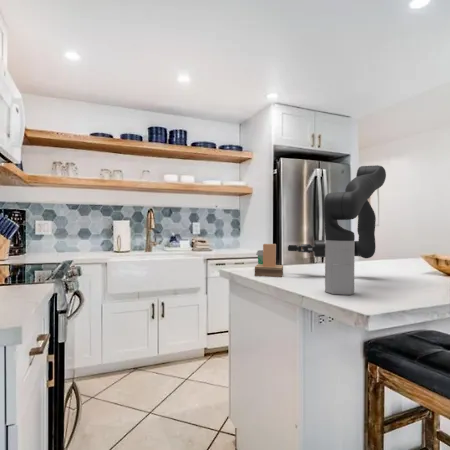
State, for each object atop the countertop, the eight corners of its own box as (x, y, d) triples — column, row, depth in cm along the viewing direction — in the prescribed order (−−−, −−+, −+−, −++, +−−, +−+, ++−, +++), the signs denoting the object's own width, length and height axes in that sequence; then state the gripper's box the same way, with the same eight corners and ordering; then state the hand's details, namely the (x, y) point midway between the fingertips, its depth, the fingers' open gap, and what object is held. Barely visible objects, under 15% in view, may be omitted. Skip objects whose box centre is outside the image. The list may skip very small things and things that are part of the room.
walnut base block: (282, 277, 145) (282, 267, 145) (254, 276, 147) (254, 267, 147) (283, 273, 156) (283, 265, 156) (257, 272, 159) (257, 264, 159)
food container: (251, 270, 170) (251, 250, 170) (262, 269, 172) (262, 250, 172) (264, 272, 158) (264, 251, 159) (275, 272, 161) (275, 251, 161)
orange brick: (275, 266, 149) (275, 244, 149) (262, 266, 150) (263, 244, 150) (275, 265, 154) (276, 244, 154) (263, 265, 155) (264, 243, 155)
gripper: (323, 239, 154) (288, 239, 157) (326, 240, 140) (287, 240, 143) (323, 255, 154) (288, 255, 157) (326, 258, 140) (287, 257, 143)
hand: (288, 247), depth 150 cm, fingers open, 8 cm apart
